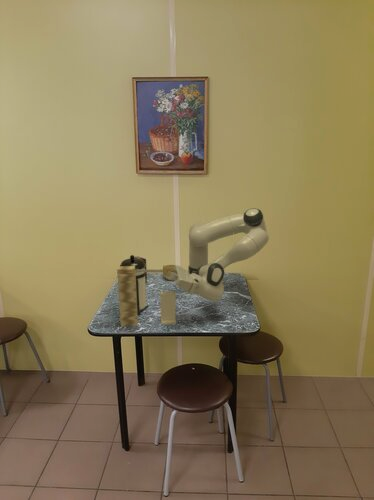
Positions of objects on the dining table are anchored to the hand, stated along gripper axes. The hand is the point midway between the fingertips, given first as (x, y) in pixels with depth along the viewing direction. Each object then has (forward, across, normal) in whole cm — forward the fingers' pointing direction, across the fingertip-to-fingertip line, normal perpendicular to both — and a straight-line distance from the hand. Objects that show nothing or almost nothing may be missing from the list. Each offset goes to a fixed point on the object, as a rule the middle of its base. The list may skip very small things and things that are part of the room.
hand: (167, 269), depth 168 cm
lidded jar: (-18, -57, +20) cm, 63 cm away
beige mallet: (+4, 0, +5) cm, 6 cm away
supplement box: (-1, -54, +30) cm, 62 cm away
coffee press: (+1, -13, +32) cm, 34 cm away
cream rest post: (-13, 0, +23) cm, 26 cm away
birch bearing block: (+3, 0, +32) cm, 33 cm away
